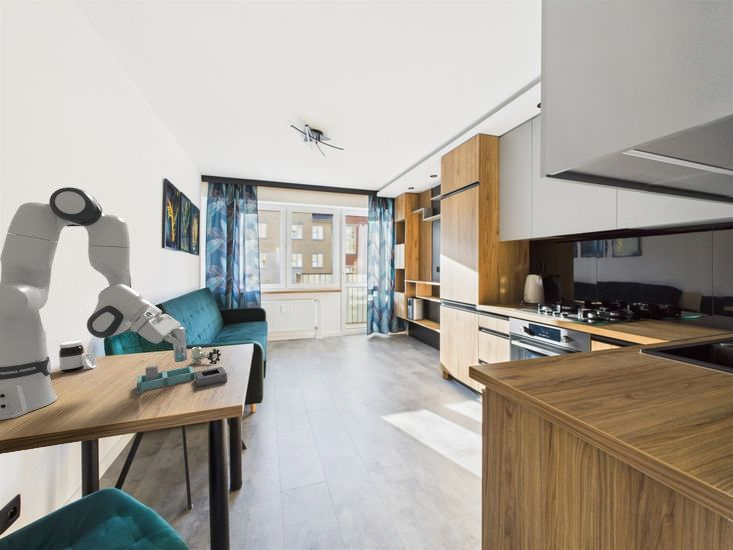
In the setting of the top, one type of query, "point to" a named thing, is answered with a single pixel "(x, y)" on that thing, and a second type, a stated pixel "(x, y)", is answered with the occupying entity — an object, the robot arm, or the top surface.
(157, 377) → the rack
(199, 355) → the valve
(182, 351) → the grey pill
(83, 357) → the spread jar
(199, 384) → the socket block
